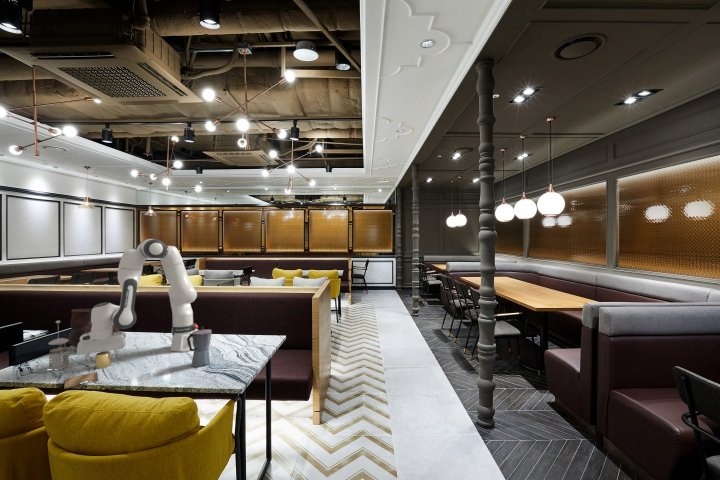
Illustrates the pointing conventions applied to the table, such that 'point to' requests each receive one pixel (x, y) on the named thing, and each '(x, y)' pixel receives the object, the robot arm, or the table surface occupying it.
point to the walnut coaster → (80, 379)
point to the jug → (81, 325)
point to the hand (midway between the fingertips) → (102, 359)
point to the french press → (59, 353)
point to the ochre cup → (102, 359)
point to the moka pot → (200, 346)
